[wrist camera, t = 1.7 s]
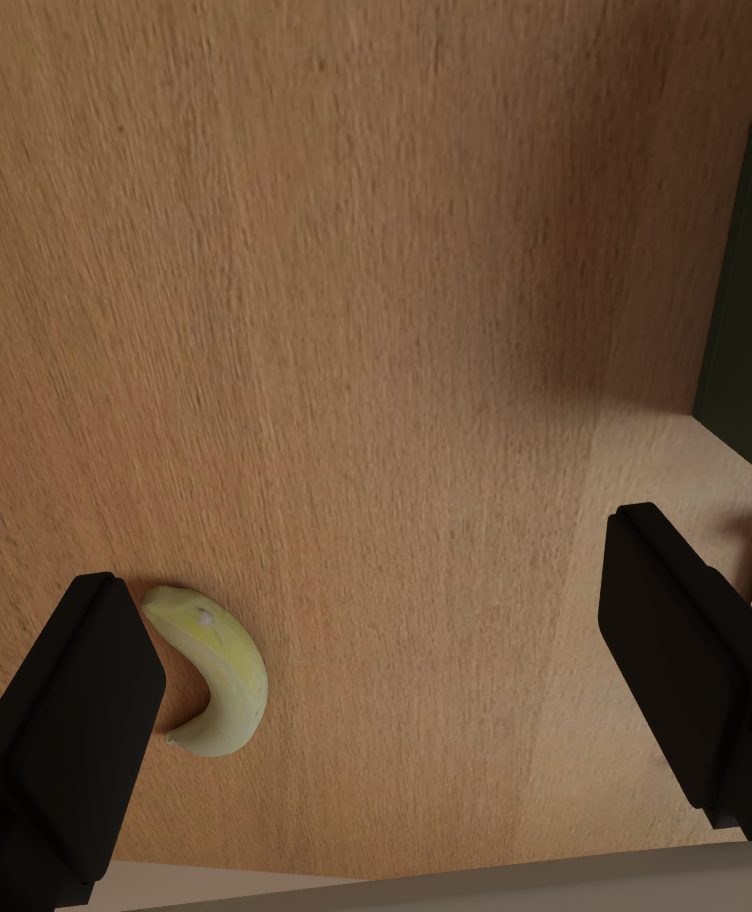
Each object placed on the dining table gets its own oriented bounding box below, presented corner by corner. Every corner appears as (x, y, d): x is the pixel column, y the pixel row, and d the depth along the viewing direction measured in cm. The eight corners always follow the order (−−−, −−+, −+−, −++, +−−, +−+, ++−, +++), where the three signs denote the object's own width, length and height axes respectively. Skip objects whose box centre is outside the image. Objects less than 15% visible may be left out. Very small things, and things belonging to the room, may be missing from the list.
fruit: (272, 578, 34) (265, 619, 31) (269, 736, 41) (263, 781, 38) (148, 572, 33) (129, 613, 30) (167, 734, 40) (154, 779, 38)
